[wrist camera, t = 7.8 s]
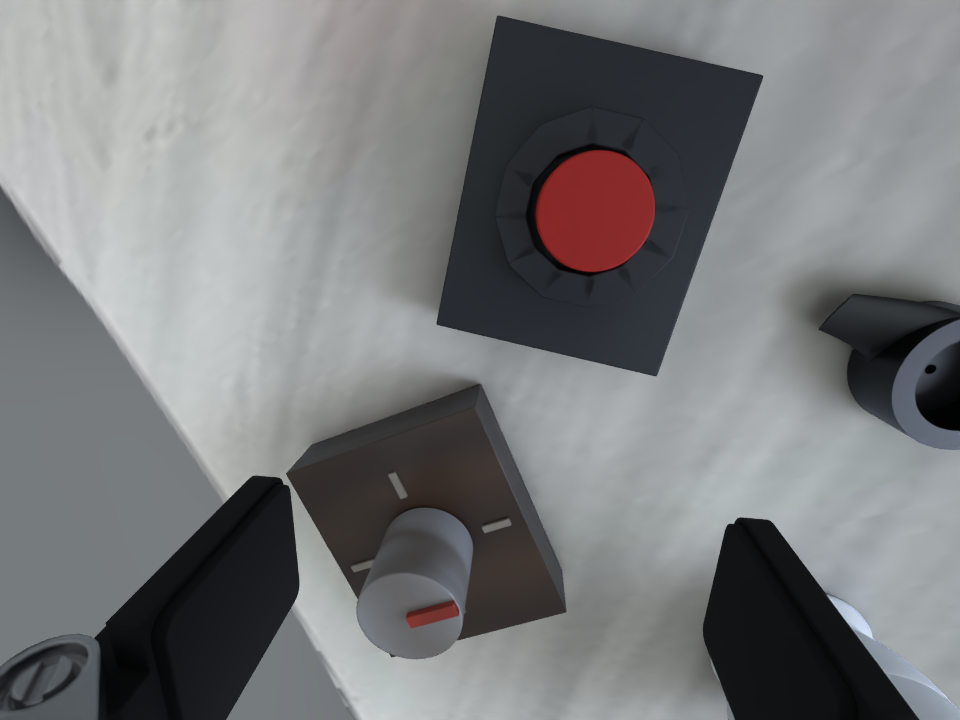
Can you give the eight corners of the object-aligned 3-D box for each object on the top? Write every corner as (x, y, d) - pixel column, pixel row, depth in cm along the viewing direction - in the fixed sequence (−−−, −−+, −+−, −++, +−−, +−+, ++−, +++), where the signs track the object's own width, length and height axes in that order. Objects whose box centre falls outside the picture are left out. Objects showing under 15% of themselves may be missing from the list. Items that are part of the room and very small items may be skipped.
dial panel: (310, 445, 27) (283, 475, 24) (480, 383, 25) (475, 407, 22) (404, 614, 29) (390, 660, 26) (562, 570, 28) (567, 615, 25)
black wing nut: (984, 223, 21) (1055, 226, 18) (1030, 421, 23) (1099, 451, 20) (797, 303, 22) (835, 316, 19) (857, 480, 25) (900, 515, 22)
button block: (499, 34, 20) (494, -6, 16) (739, 89, 20) (790, 61, 16) (443, 314, 24) (428, 335, 20) (645, 361, 24) (668, 391, 20)
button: (550, 143, 18) (553, 137, 16) (658, 168, 18) (672, 165, 16) (524, 253, 19) (524, 258, 17) (624, 277, 19) (634, 283, 17)
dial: (407, 591, 25) (382, 676, 21) (370, 521, 24) (334, 595, 19) (486, 568, 24) (478, 652, 20) (451, 495, 23) (434, 566, 19)
